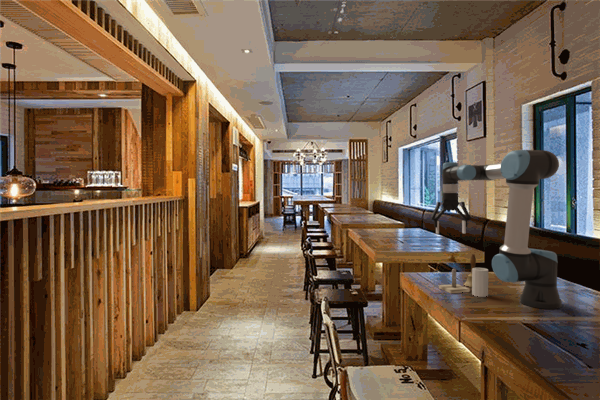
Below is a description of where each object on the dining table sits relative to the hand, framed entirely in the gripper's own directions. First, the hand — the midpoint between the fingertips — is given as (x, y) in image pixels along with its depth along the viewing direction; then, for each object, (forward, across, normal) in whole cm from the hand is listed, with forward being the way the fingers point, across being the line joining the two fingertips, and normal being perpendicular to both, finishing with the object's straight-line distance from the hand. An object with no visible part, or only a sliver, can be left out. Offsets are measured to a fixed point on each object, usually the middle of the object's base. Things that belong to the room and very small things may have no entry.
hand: (450, 233), depth 212 cm
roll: (+26, -5, +24) cm, 36 cm away
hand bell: (+26, -8, +6) cm, 28 cm away
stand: (+26, +4, +15) cm, 30 cm away
